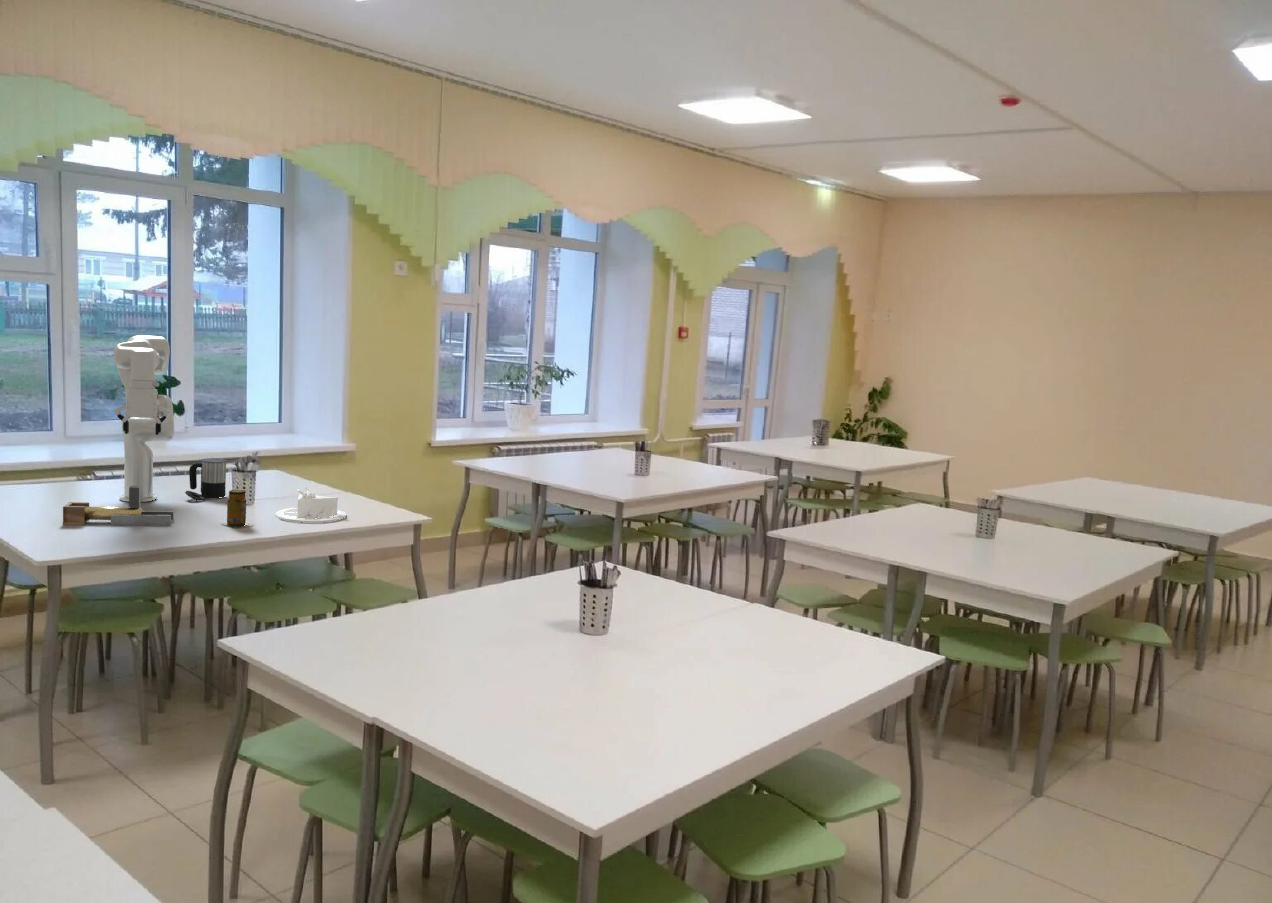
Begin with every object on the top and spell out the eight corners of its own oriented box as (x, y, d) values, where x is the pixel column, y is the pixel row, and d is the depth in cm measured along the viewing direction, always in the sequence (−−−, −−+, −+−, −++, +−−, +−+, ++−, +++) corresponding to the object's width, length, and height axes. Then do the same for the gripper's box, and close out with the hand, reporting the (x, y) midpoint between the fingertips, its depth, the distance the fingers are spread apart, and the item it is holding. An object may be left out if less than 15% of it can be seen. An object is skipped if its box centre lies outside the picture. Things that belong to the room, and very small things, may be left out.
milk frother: (227, 495, 382) (228, 458, 380) (224, 502, 367) (225, 464, 366) (188, 494, 377) (188, 457, 375) (184, 502, 363) (184, 463, 361)
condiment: (239, 521, 337) (239, 488, 336) (254, 526, 333) (255, 492, 331) (220, 524, 331) (221, 490, 330) (235, 528, 327) (236, 494, 325)
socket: (69, 519, 322) (69, 502, 321) (89, 519, 324) (89, 502, 323) (63, 524, 314) (63, 506, 314) (83, 524, 316) (83, 507, 316)
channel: (115, 520, 326) (115, 510, 326) (173, 520, 332) (173, 511, 332) (110, 525, 319) (110, 515, 318) (170, 525, 325) (170, 515, 324)
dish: (272, 523, 339) (273, 492, 338) (278, 509, 363) (278, 480, 362) (345, 524, 346) (346, 494, 345) (345, 510, 370) (346, 482, 369)
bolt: (76, 518, 321) (76, 484, 320) (142, 518, 327) (142, 485, 326) (72, 521, 317) (72, 487, 315) (140, 521, 323) (140, 488, 322)
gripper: (171, 385, 340) (170, 433, 342) (116, 383, 335) (116, 431, 337) (168, 387, 333) (167, 436, 335) (112, 384, 328) (112, 434, 330)
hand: (142, 433), depth 336 cm, fingers open, 9 cm apart
